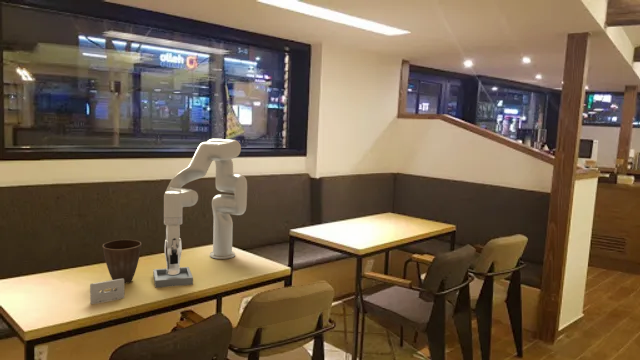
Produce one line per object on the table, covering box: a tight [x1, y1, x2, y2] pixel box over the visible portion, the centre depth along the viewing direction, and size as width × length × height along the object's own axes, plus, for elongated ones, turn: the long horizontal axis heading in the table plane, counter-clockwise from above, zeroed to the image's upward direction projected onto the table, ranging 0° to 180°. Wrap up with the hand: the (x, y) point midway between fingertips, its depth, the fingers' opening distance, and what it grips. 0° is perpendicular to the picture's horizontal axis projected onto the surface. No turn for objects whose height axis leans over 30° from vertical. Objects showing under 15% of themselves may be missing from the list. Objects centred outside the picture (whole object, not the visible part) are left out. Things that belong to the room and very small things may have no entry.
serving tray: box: [152, 266, 194, 289], centre depth 205 cm, size 15×15×3 cm
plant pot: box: [102, 239, 142, 285], centre depth 200 cm, size 15×15×16 cm
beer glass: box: [164, 238, 183, 276], centre depth 204 cm, size 7×7×15 cm
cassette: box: [89, 278, 125, 305], centre depth 180 cm, size 12×2×8 cm, turn 129°
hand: (173, 260), depth 204 cm, fingers closed on beer glass, 6 cm apart
